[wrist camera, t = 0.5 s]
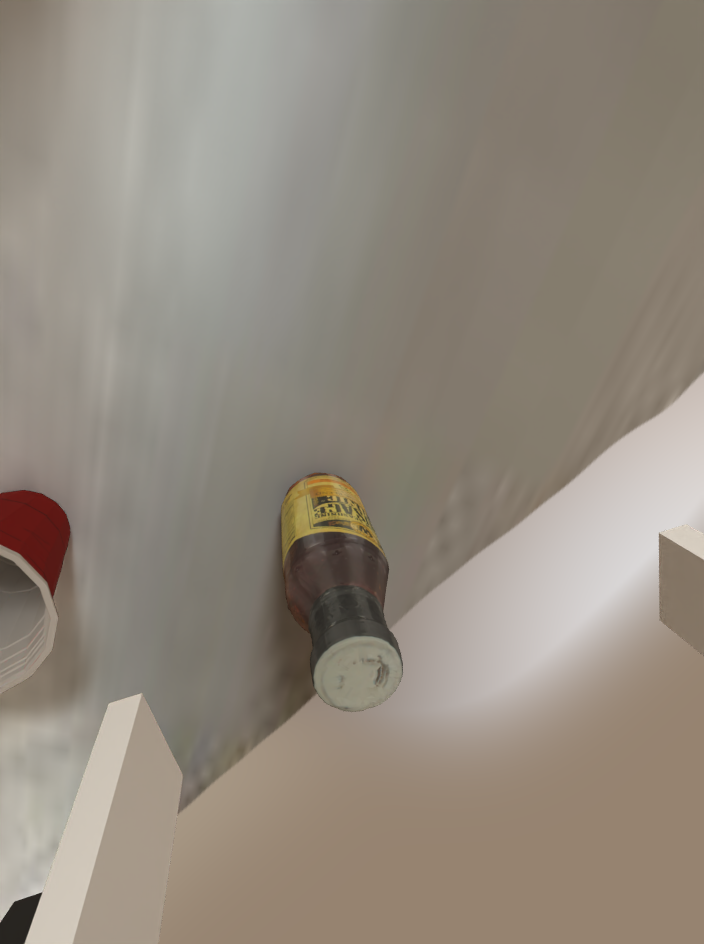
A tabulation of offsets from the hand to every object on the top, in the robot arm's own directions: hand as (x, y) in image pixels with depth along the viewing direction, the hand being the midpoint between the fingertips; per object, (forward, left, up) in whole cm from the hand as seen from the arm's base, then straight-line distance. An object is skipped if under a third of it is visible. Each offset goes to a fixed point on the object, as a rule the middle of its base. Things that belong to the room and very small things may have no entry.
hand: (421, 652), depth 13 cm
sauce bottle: (+7, -2, -28) cm, 29 cm away
